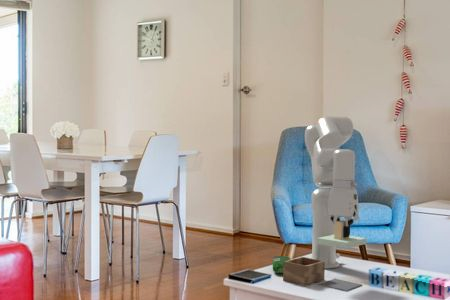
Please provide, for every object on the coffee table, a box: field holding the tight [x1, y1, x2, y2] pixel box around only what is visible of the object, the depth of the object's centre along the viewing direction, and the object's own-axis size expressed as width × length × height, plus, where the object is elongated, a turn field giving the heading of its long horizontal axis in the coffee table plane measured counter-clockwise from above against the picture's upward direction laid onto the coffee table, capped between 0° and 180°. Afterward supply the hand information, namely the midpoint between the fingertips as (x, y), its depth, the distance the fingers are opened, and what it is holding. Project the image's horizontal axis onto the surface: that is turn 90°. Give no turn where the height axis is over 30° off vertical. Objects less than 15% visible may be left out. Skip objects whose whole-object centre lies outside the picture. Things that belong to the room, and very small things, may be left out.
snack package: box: [272, 255, 291, 274], centre depth 223 cm, size 7×16×5 cm, turn 174°
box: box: [282, 256, 326, 287], centre depth 210 cm, size 12×10×7 cm
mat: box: [318, 278, 363, 292], centre depth 204 cm, size 11×11×1 cm
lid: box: [317, 219, 367, 250], centre depth 203 cm, size 14×12×8 cm
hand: (342, 236), depth 203 cm, fingers closed on lid, 2 cm apart
